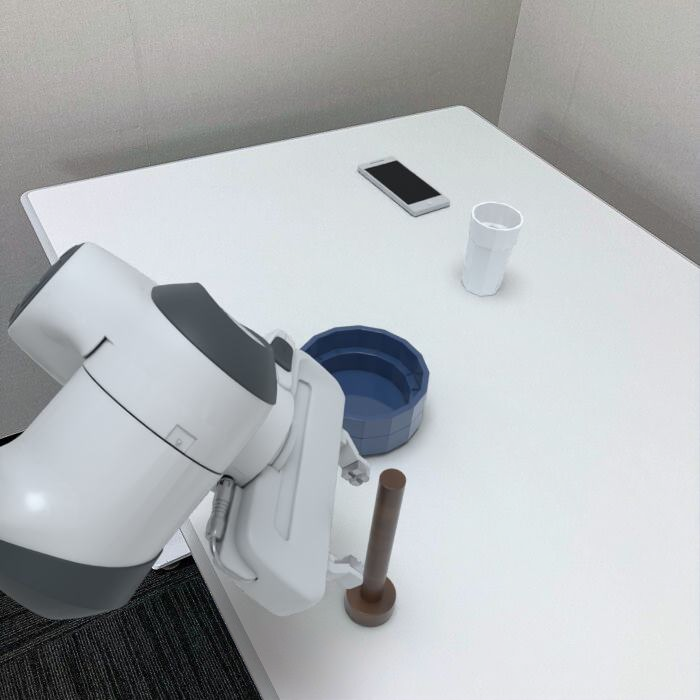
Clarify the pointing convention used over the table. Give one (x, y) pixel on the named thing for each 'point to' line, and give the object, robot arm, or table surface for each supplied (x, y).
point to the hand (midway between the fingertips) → (360, 524)
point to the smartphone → (403, 185)
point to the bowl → (374, 383)
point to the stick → (378, 556)
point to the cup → (490, 246)
